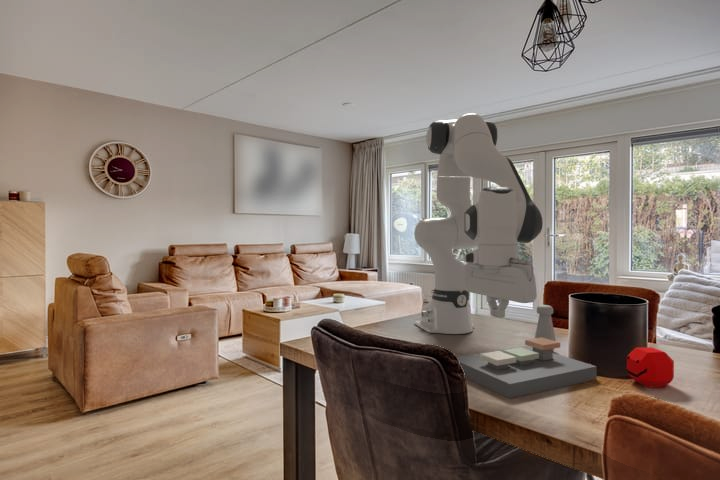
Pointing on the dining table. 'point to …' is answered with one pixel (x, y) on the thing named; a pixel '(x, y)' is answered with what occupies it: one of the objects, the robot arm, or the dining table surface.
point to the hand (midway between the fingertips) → (497, 316)
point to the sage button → (522, 355)
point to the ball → (650, 367)
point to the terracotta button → (543, 347)
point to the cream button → (498, 359)
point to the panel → (527, 374)
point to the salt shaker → (545, 323)
